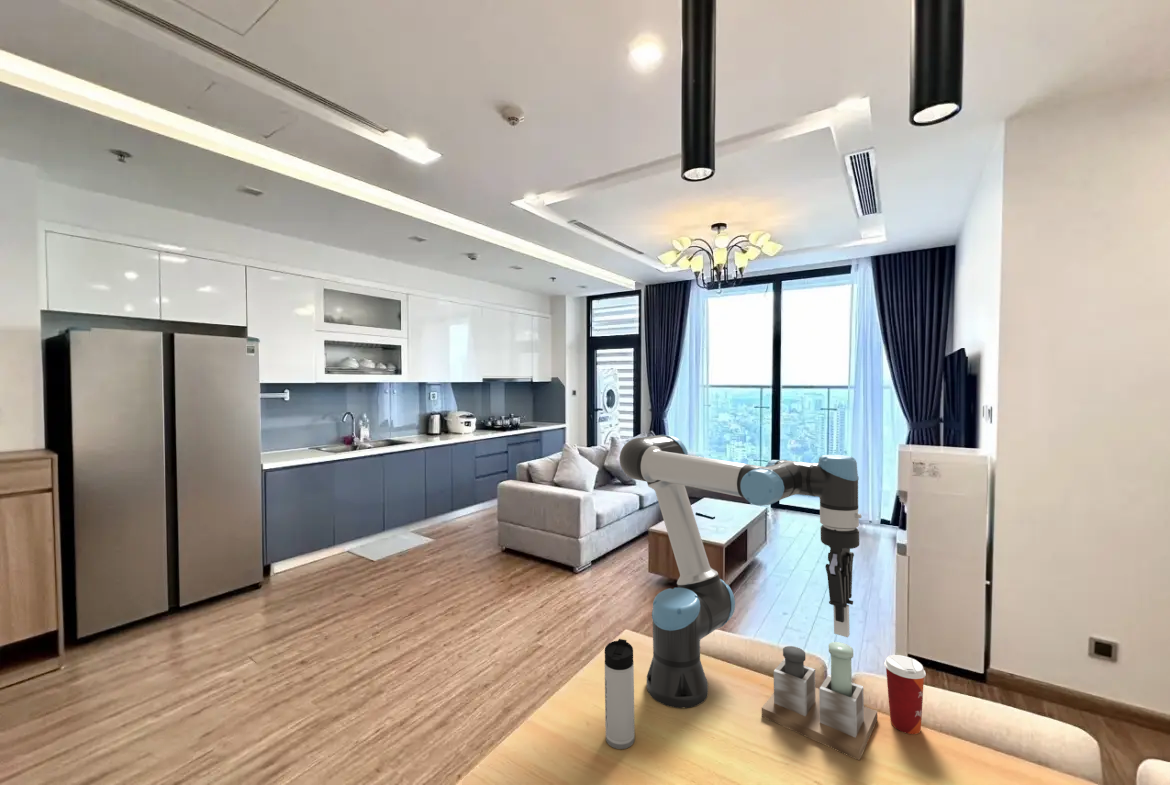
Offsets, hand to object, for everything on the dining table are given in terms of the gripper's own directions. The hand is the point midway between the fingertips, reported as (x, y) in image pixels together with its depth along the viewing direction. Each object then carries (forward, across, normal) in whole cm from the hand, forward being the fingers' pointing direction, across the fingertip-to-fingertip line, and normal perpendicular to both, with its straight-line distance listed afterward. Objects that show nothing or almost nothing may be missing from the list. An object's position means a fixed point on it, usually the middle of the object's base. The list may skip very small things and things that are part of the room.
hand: (841, 634), depth 105 cm
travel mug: (+21, -34, +35) cm, 53 cm away
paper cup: (+22, +11, -10) cm, 26 cm away
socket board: (+21, +1, +5) cm, 22 cm away
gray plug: (+19, 0, +10) cm, 21 cm away
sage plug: (+14, 0, 0) cm, 14 cm away
